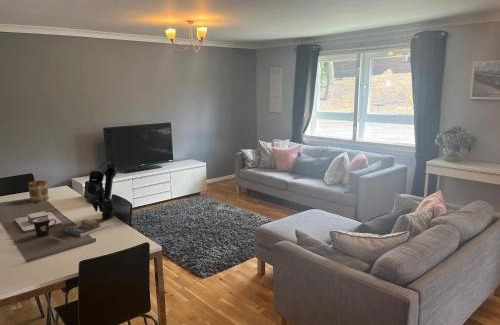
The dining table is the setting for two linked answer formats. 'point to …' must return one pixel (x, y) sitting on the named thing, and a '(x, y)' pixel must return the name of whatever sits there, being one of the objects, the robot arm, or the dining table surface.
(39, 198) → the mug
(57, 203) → the dining table surface
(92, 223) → the walnut slider
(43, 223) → the coffee mug
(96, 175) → the robot arm
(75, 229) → the rail plate
